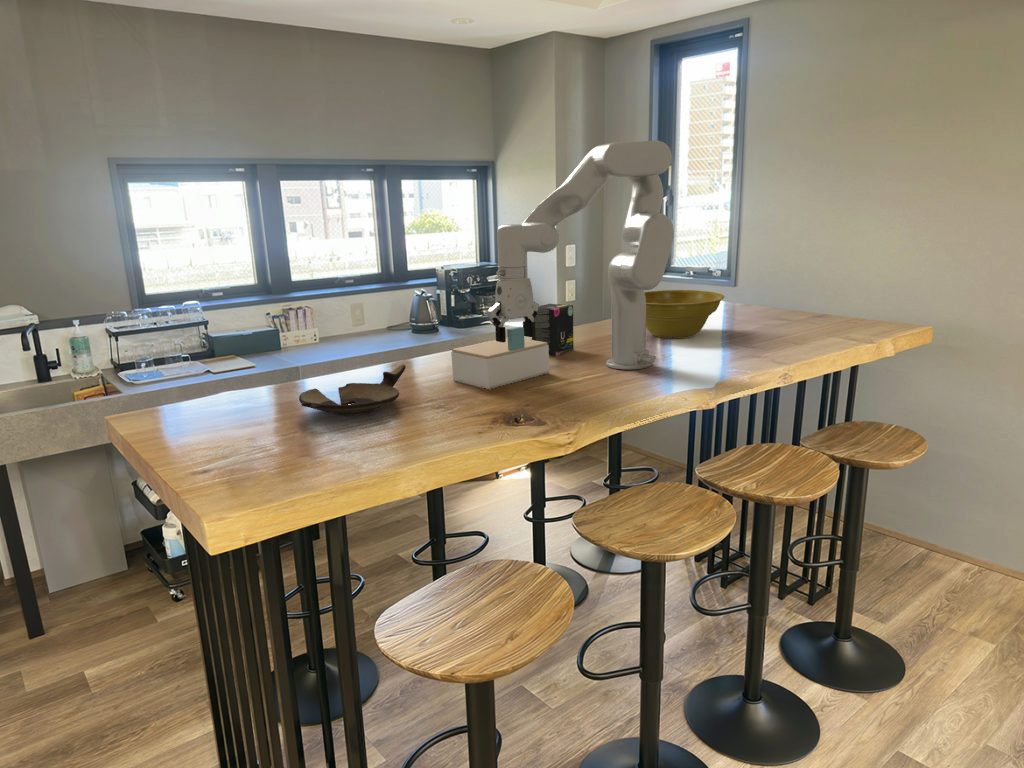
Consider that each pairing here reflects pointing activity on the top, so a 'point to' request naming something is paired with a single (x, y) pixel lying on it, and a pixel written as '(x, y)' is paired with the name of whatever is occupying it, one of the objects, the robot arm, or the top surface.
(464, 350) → the flap
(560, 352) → the tampon box
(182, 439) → the top surface
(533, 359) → the carton
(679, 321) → the planter bowl
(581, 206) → the robot arm
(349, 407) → the broken pottery dish
